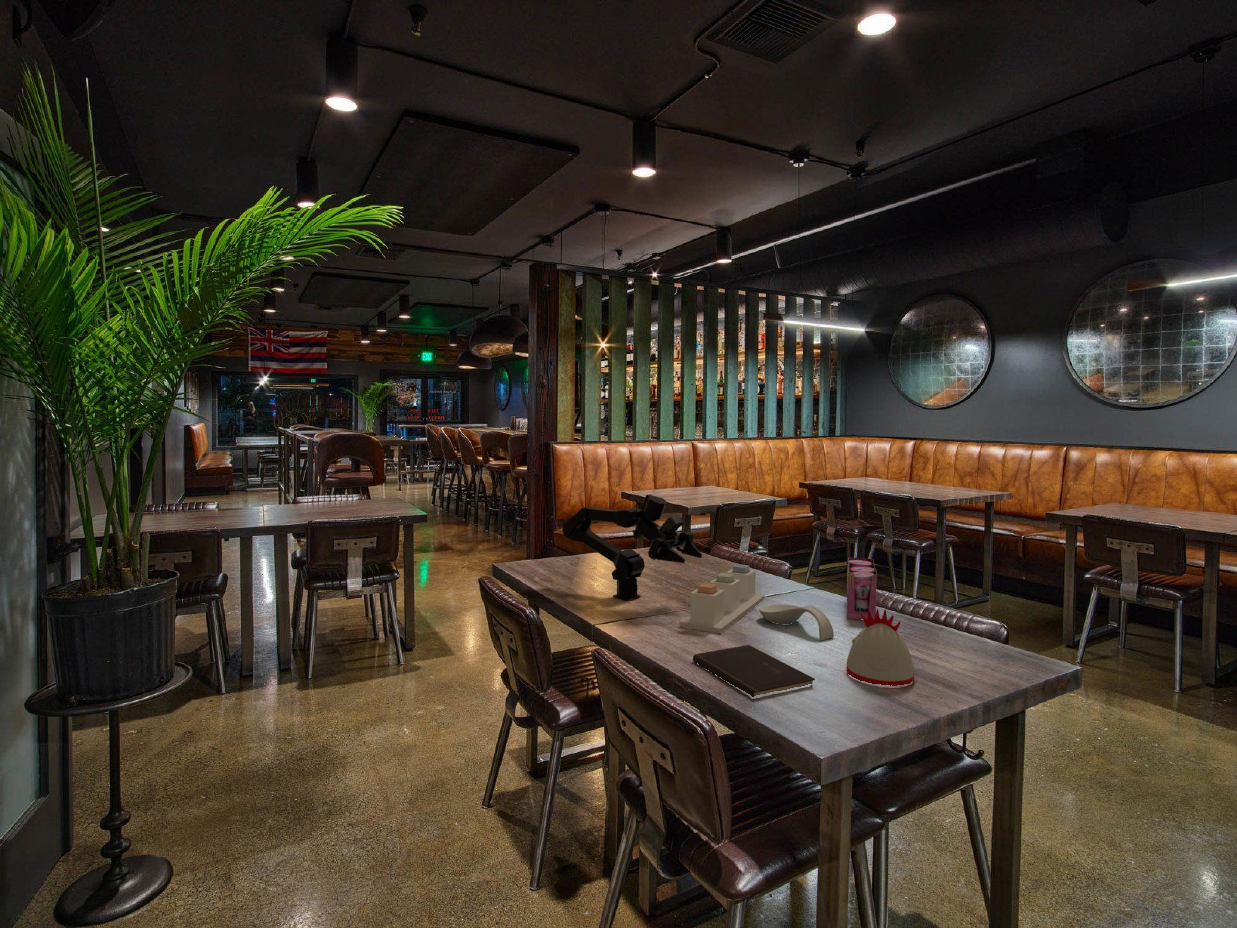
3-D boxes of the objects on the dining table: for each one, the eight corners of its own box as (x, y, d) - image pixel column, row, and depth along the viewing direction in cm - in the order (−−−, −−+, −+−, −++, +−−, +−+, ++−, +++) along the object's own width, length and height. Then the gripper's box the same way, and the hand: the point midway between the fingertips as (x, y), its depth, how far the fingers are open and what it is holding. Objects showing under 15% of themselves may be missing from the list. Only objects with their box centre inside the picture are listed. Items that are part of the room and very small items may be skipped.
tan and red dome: (847, 660, 151) (849, 598, 150) (911, 669, 146) (913, 604, 145) (845, 682, 138) (847, 614, 137) (915, 692, 133) (918, 621, 132)
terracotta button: (697, 600, 176) (697, 585, 175) (703, 597, 179) (703, 582, 179) (711, 602, 174) (711, 587, 173) (716, 599, 177) (716, 584, 177)
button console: (679, 626, 175) (679, 592, 175) (727, 595, 208) (728, 566, 208) (721, 634, 169) (721, 598, 169) (764, 600, 202) (764, 570, 202)
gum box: (876, 623, 179) (877, 575, 178) (846, 620, 182) (847, 573, 181) (873, 601, 202) (874, 558, 201) (846, 599, 204) (847, 556, 204)
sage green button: (716, 589, 188) (716, 575, 187) (721, 586, 191) (721, 572, 191) (729, 590, 186) (729, 577, 185) (734, 587, 189) (734, 574, 189)
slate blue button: (732, 579, 200) (732, 566, 200) (736, 576, 203) (737, 564, 203) (745, 580, 198) (745, 567, 198) (749, 578, 201) (749, 565, 201)
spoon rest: (750, 619, 183) (750, 594, 183) (781, 613, 189) (781, 589, 189) (812, 644, 163) (812, 616, 162) (845, 637, 168) (845, 610, 168)
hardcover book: (748, 653, 157) (748, 644, 156) (814, 689, 136) (815, 678, 136) (692, 664, 150) (692, 654, 150) (753, 702, 129) (753, 691, 129)
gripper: (644, 513, 187) (685, 539, 179) (679, 506, 202) (719, 531, 193) (632, 545, 191) (671, 573, 182) (668, 537, 205) (706, 562, 197)
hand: (693, 559), depth 188 cm, fingers open, 9 cm apart
